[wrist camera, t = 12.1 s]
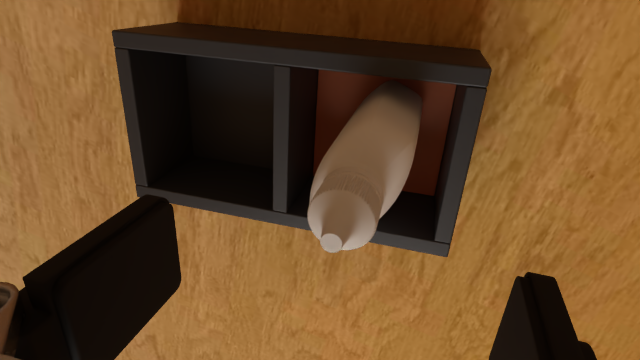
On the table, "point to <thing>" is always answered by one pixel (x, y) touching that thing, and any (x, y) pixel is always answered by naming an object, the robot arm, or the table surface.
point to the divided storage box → (290, 120)
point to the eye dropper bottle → (365, 168)
